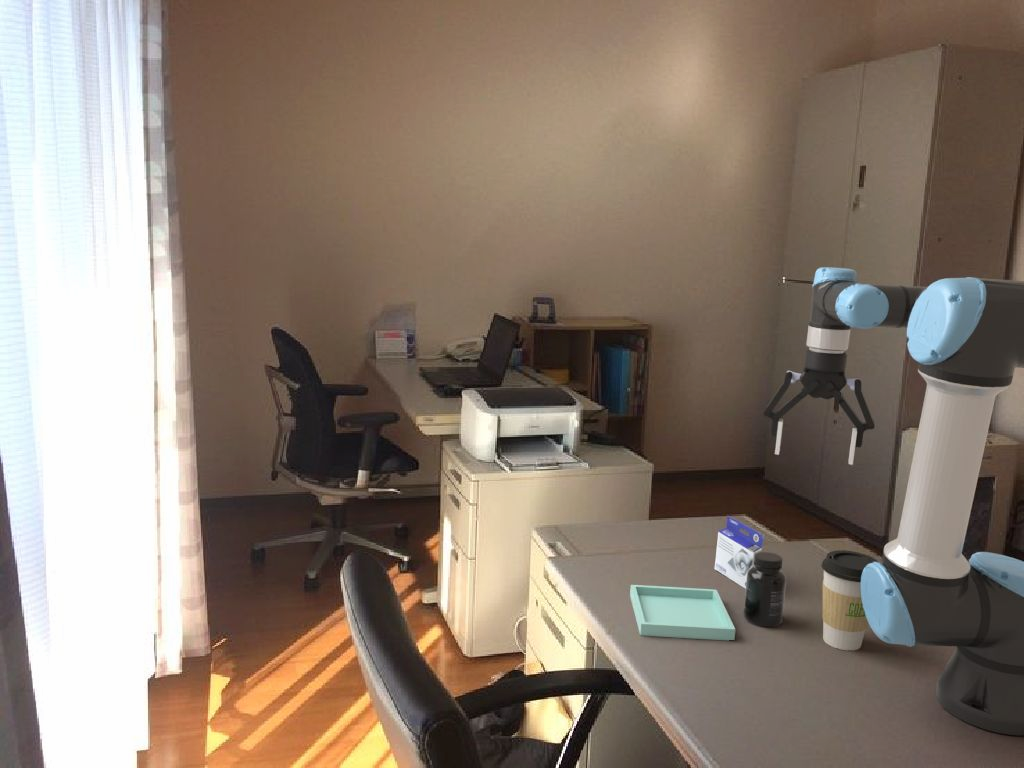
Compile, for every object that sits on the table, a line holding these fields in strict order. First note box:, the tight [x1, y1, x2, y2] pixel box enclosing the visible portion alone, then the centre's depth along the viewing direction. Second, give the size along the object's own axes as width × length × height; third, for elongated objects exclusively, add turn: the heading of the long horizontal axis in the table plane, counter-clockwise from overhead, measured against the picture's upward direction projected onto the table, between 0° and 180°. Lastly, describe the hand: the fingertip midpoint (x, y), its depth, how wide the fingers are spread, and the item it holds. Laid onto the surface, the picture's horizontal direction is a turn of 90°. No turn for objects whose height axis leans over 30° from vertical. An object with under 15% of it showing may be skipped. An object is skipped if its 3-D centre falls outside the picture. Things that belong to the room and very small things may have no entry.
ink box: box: [713, 515, 766, 590], centre depth 179 cm, size 12×2×12 cm, turn 25°
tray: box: [629, 584, 736, 641], centre depth 163 cm, size 16×16×2 cm
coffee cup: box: [820, 549, 879, 651], centre depth 155 cm, size 10×10×15 cm
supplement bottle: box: [743, 551, 787, 628], centre depth 163 cm, size 7×7×12 cm
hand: (813, 457), depth 177 cm, fingers open, 13 cm apart
